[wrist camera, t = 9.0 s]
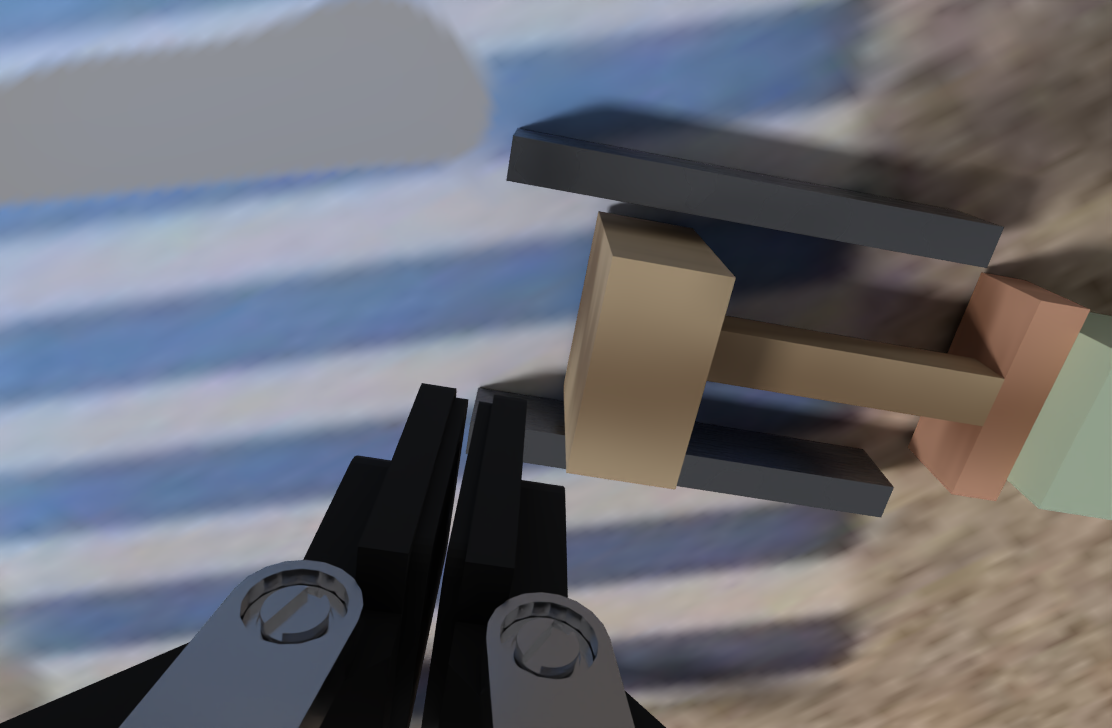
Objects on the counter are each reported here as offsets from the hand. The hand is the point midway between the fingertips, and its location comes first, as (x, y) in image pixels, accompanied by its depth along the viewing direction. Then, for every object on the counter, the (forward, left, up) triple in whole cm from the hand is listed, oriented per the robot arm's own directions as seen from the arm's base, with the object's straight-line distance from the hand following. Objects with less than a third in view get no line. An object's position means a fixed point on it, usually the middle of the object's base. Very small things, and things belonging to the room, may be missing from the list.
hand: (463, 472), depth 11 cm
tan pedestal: (+1, +9, -12) cm, 15 cm away
